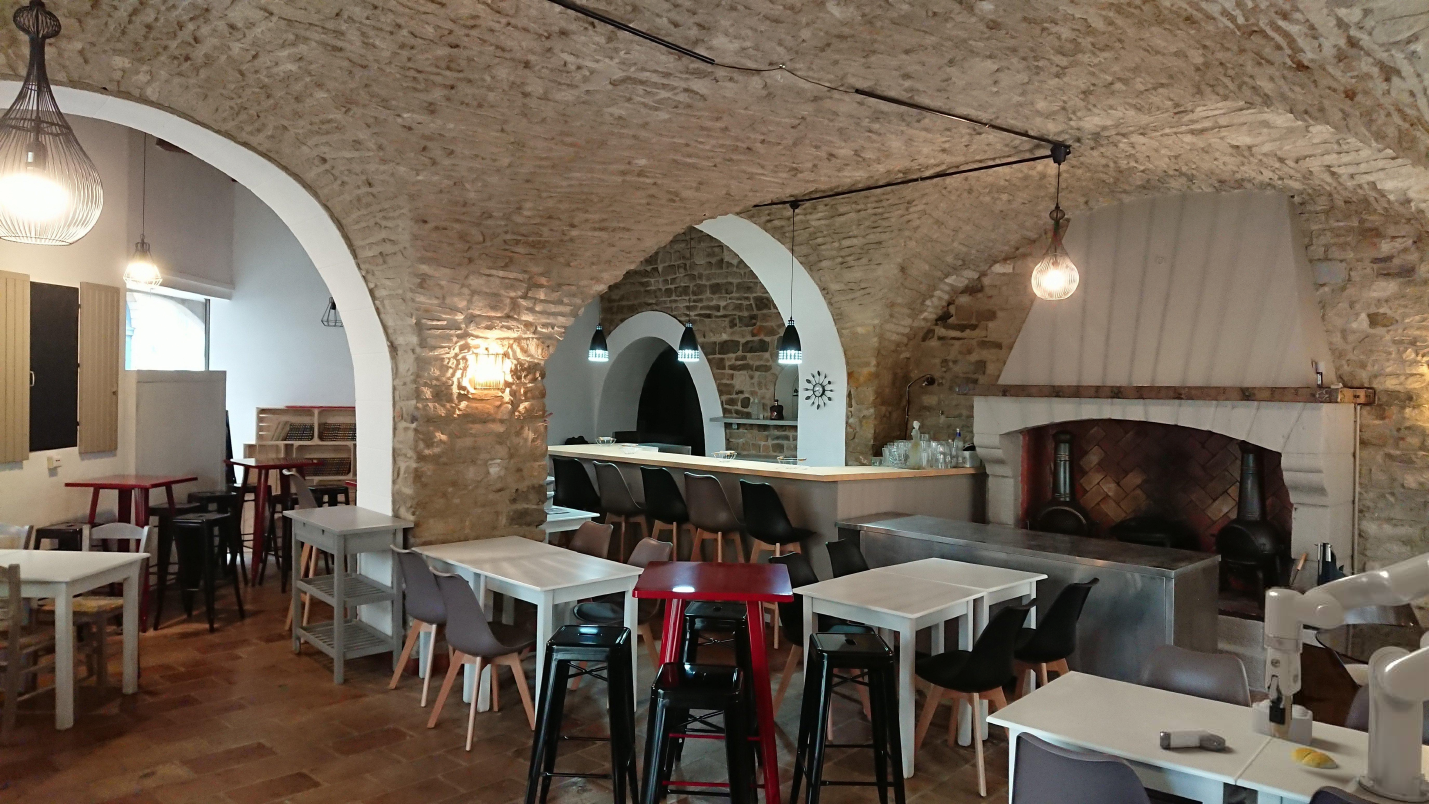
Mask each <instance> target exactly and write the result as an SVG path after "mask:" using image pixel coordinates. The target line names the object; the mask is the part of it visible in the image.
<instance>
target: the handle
mask: <svg viewBox="0 0 1429 804" xmlns="http://www.w3.org/2000/svg"><path fill="white" fill-rule="evenodd" d="M1298 678H1299V676H1298V675H1296V676H1295V677H1294V683H1296V682H1298ZM1277 693H1282V692H1281V691H1279V690H1278V691H1277ZM1277 697H1279V698H1280V701H1281V696H1277ZM1291 704H1292V703H1290V696H1286V695H1285V703H1284V708H1286V716H1285V725H1280V724H1276V723H1272V722H1271V727H1272V735H1273V736H1274V737H1277V738H1276V739H1278V738H1279V739H1278V740H1282V739H1287V738H1288V733H1289V732H1288V731H1289V729H1290V722H1291ZM1274 737H1273V738H1274Z"/></svg>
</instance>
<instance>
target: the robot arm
mask: <svg viewBox="0 0 1429 804" xmlns="http://www.w3.org/2000/svg"><path fill="white" fill-rule="evenodd" d="M1427 597H1429V551H1428V552H1425V553H1422V554H1420V555H1417V556H1414V557H1411V558H1407V559H1404V560H1402V561H1399V562H1397V563H1394V564H1391V565H1387V566H1385V567H1381V568H1378V569H1374V570H1369V571H1366V572H1361V573H1357V574H1354V575H1350V576H1349V575H1348V576H1345V577H1341V578H1338V579H1335V580H1332V581H1330V582H1326V583H1325V584H1322V585H1319V586H1316V587H1313V588H1310V589H1309V590H1307V591H1306V592H1305V593H1304V594H1302V593H1301V592H1299V591H1297V590H1293V589H1287V588H1280V587H1279V588H1274V587H1273V588H1270V589H1268V590H1267V591H1266V593H1265V604H1264V605H1265V607H1264V613H1265V614H1264V640H1263V647H1264V648H1265V649H1267V654H1266V661H1265V662H1266V663H1265V665H1266V666H1265V678H1264V679H1265V680H1264V681H1265V682H1264V684H1265V690H1266V692H1268V698H1269V699H1270V701H1269V721H1270V722H1272V723H1276V724H1280V725H1285V716H1286V708H1284V703H1285V695H1286V696H1290V703H1291V720H1292V705H1293V700H1294V699H1293V694H1296V693H1297V692H1299V691H1300V690H1301V686H1302V678H1301V677H1302V675H1301V673H1302V671H1301V670H1302V669H1301V668H1302V667H1301V666H1302V665H1301V653H1303V633H1304V629H1303V628H1304V625H1306V626H1307V625H1308V626H1311V627H1315V628H1318V629H1324V630H1331V629H1333V630H1334V629H1336V628H1339V627H1340V626H1342V624H1343V625H1344V622H1345V620H1346V616H1347V614H1346V613H1347V612H1350V611H1354V610H1355V611H1356V610H1357V609H1358V610H1359V609H1362V608H1366V607H1371V606H1372V607H1373V606H1388V607H1389V606H1391V607H1392V606H1393V607H1397V606H1403V605H1404V606H1405V605H1407V604H1411V603H1413V602H1416V601H1419V600H1421V599H1425V598H1427ZM1367 666H1368V667H1367V675H1368V689H1369V690H1368V691H1369V692H1368V694H1369V697H1368V698H1369V700H1368V701H1369V705H1368V706H1369V707H1368V708H1369V709H1368V710H1369V714H1368V731H1367V732H1368V736H1367V737H1368V738H1367V739H1368V740H1367V773H1362V774H1361V775H1359V777H1358V783H1359V785H1360V786H1361V787H1362V788H1363V789H1365V790H1367V791H1369V792H1371V793H1373V794H1375V795H1379V796H1381V797H1383V798H1388V799H1390V800H1391V799H1392V800H1397V801H1401V802H1402V801H1403V802H1410V803H1424V802H1427V801H1429V781H1428V779H1426V774H1425V773H1423V772H1422V760H1423V759H1422V756H1423V753H1422V752H1423V726H1424V724H1423V723H1424V708H1423V707H1424V706H1423V705H1424V704H1423V702H1426V701H1429V630H1427V631H1426V632H1425V633H1424V634H1423V635H1422V637H1421V638H1420V642H1419V649H1416V650H1415V651H1412V652H1410V651H1408V650H1407V649H1406V648H1405V649H1404V648H1402V647H1398V646H1392V645H1391V646H1384V647H1380V648H1379V649H1376V650H1375V651H1374V652H1373V653H1372V655H1371V656H1370V658H1369V660H1368V665H1367ZM1296 675H1298V676H1299V678H1298V682H1296V683H1294V677H1295V676H1296ZM1278 690H1279V691H1281V692H1282V693H1277V691H1278ZM1277 696H1281V701H1280V698H1279V697H1277Z"/></svg>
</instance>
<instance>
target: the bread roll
mask: <svg viewBox="0 0 1429 804" xmlns="http://www.w3.org/2000/svg"><path fill="white" fill-rule="evenodd" d="M1290 757H1291V759H1292V760H1293V761H1295V762H1296V763H1297V762H1298V763H1301V765H1304V766H1307V767H1312V768H1316V769H1331V768H1333V769H1334V768H1337V763H1336V761H1334V759H1333V758H1332V757H1331V756H1329V755H1328V754H1326V753H1324V752H1318V751H1317V750H1315V749H1313V748H1310V747H1299V748H1296V749H1294V750H1292V752H1291V754H1290Z"/></svg>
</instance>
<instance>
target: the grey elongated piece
mask: <svg viewBox="0 0 1429 804" xmlns="http://www.w3.org/2000/svg"><path fill="white" fill-rule="evenodd" d="M1159 747H1161V748H1163V749H1171V748H1187V747H1196V748H1198V749H1201V750H1205V751H1209V752H1216V753H1217V752H1224V751H1225V750H1226V739H1225V738H1224V737H1222V736H1220V735H1217V734H1213V733H1211V732H1209V731H1207V730H1184V731H1183V730H1181V731H1164V730H1163V731H1160V732H1159Z"/></svg>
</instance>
